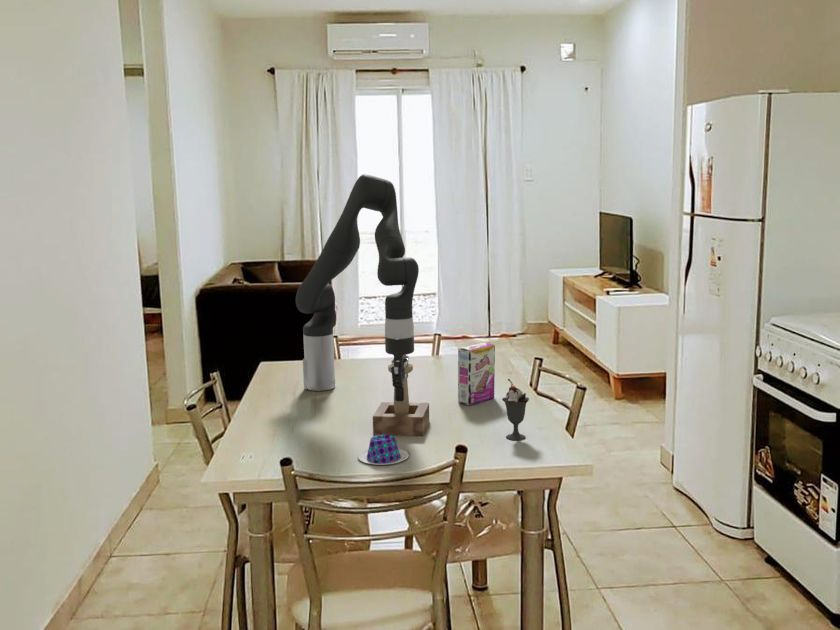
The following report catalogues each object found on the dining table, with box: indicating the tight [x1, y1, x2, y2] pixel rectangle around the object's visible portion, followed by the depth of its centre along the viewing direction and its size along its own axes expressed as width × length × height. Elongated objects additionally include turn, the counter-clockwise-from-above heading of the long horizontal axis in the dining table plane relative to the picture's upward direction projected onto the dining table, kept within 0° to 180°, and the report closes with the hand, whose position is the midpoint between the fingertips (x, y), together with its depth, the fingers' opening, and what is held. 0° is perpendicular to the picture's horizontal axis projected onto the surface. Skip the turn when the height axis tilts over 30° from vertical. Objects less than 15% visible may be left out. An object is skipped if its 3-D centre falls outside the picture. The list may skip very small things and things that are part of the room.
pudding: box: [357, 434, 409, 466], centre depth 200 cm, size 12×12×5 cm
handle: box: [387, 363, 414, 414], centre depth 221 cm, size 5×6×15 cm
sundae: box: [501, 378, 530, 442], centre depth 212 cm, size 7×7×15 cm
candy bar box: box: [457, 342, 496, 406], centre depth 245 cm, size 11×5×16 cm, turn 134°
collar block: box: [372, 401, 430, 437], centre depth 222 cm, size 13×13×5 cm
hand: (400, 398), depth 222 cm, fingers closed on handle, 3 cm apart
